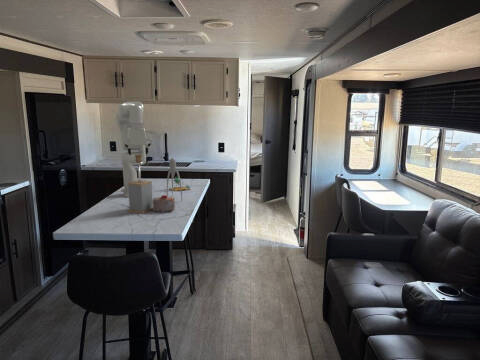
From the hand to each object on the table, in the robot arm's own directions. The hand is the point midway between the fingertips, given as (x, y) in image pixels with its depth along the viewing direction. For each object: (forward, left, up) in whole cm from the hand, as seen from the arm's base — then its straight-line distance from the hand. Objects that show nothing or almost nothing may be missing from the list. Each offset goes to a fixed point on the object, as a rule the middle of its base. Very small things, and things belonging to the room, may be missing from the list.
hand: (138, 154), depth 219 cm
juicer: (+7, +28, -35) cm, 46 cm away
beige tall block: (0, 0, -35) cm, 35 cm away
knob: (0, 0, -25) cm, 25 cm away
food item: (+13, +5, -36) cm, 38 cm away
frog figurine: (-10, +57, -36) cm, 68 cm away
